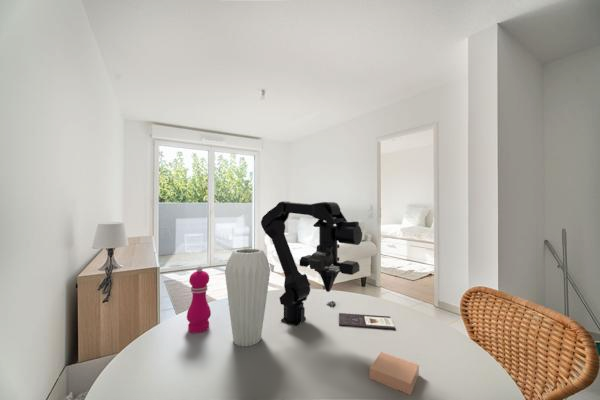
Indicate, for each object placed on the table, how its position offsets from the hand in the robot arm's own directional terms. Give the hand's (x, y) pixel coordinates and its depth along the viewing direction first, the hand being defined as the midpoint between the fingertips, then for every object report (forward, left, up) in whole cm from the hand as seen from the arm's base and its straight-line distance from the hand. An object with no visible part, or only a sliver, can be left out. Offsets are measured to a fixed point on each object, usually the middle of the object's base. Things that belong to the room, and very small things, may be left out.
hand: (328, 291), depth 81 cm
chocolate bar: (+8, +14, -14) cm, 21 cm away
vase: (-19, -16, -13) cm, 28 cm away
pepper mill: (-37, -19, -13) cm, 44 cm away
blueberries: (-8, +22, -14) cm, 27 cm away
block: (+17, -10, -12) cm, 23 cm away
